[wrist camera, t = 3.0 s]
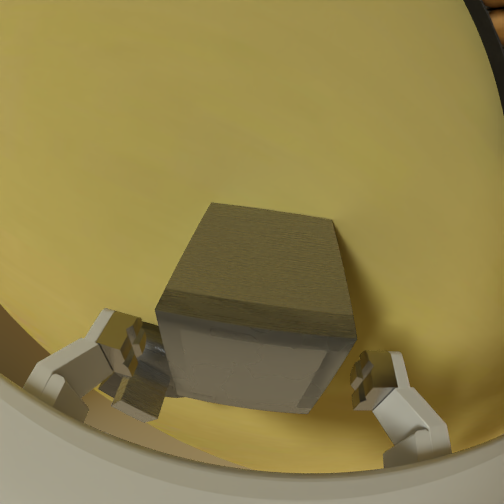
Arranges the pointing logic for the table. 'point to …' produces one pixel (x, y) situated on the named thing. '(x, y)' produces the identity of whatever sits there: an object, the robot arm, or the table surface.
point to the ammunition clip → (491, 35)
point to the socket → (257, 310)
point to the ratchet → (143, 381)
